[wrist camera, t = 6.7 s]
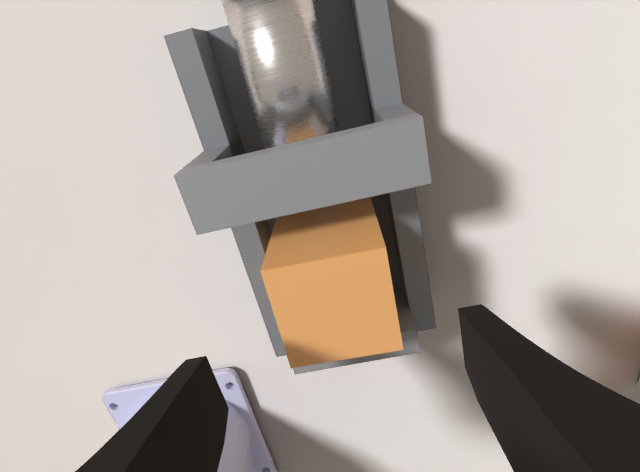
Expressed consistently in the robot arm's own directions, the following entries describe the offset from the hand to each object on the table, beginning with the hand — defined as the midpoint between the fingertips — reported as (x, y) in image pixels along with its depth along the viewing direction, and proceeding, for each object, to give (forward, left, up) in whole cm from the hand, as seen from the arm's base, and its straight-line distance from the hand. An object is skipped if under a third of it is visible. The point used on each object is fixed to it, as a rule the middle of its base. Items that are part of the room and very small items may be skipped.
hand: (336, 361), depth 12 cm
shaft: (+8, 0, -8) cm, 11 cm away
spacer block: (0, 0, -8) cm, 8 cm away
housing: (+3, 0, -9) cm, 9 cm away
